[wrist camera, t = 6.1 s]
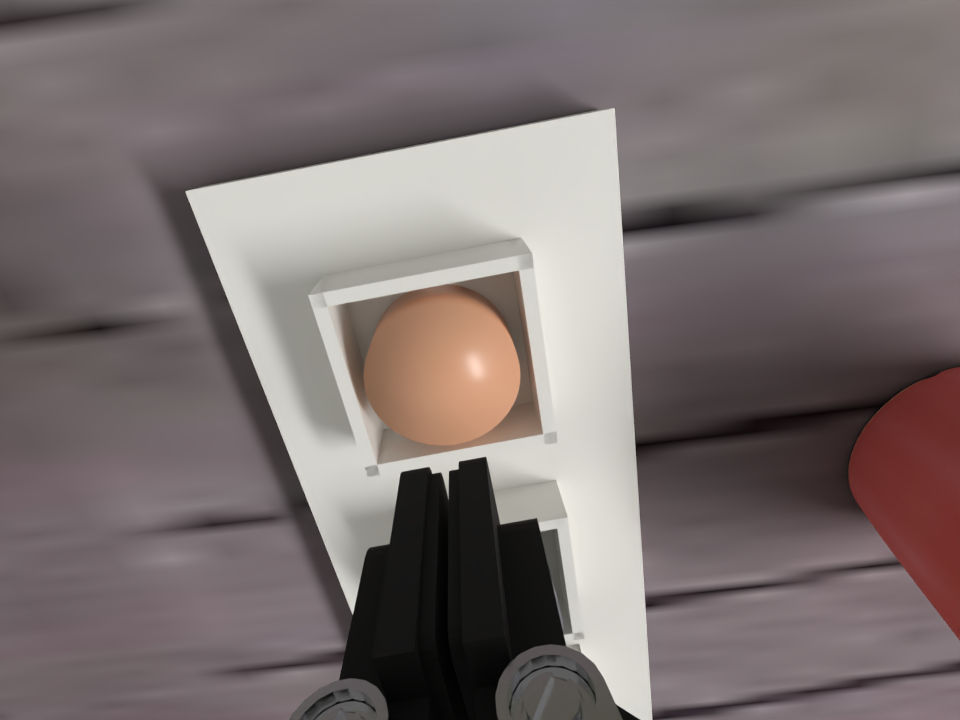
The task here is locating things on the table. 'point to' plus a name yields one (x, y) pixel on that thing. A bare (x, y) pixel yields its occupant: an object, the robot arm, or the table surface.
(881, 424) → the flower pot
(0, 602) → the table surface
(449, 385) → the terracotta button
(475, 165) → the button board
